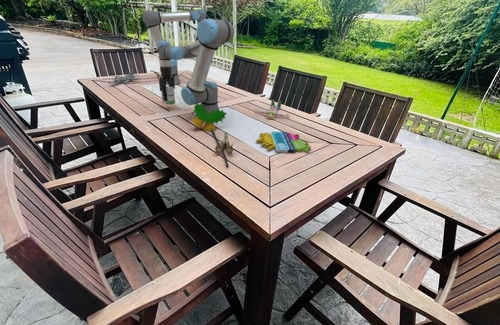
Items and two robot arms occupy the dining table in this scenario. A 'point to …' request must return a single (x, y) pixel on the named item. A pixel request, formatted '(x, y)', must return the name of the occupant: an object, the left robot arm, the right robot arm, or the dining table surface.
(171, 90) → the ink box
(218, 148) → the jawbone
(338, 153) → the dining table surface
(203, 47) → the right robot arm
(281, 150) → the colourful gloves pack
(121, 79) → the airplane
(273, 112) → the toy
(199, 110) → the ornament
